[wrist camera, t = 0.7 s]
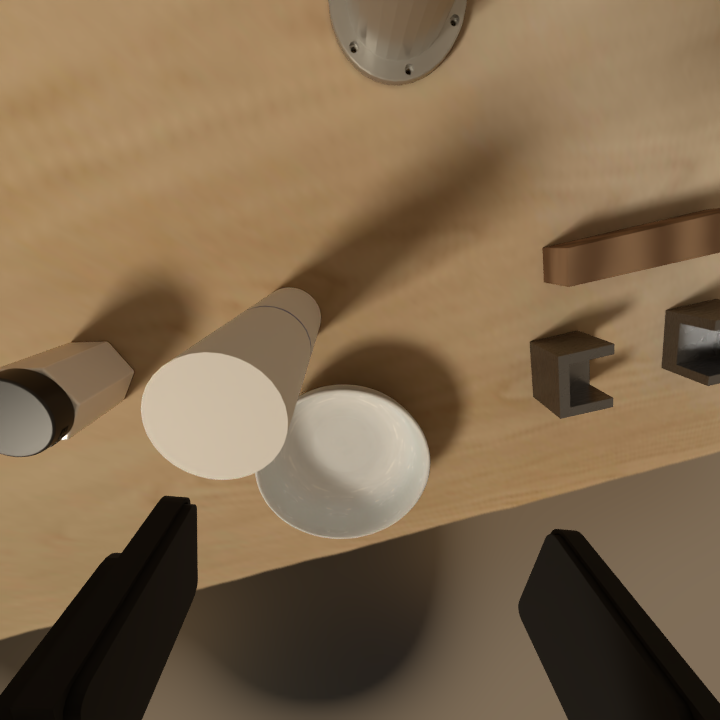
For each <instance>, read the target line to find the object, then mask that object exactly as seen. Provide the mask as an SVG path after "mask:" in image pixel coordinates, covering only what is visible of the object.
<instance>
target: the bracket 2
mask: <svg viewBox="0 0 720 720" xmlns="http://www.w3.org/2000/svg"><path fill="white" fill-rule="evenodd" d="M662 368H663V369H666V370H668V371H671V372H673V373H676V374H678V375H681V376H684V377H686V378H689V379H691V380H694V381H696V382H699V383H702V384H704V385H707V386H710V385H714V384H719V383H720V299H714V300H709V301H705V302H701V303H696V304H692V305H688V306H683V307H679V308H675V309H670V310H666V316H665V329H664V343H663V357H662Z"/></svg>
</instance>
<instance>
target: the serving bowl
mask: <svg viewBox="0 0 720 720" xmlns="http://www.w3.org/2000/svg"><path fill="white" fill-rule="evenodd" d="M429 472H430V452H429V447H428V443H427V440H426V438H425V435H424V433H423V431H422V429H421V428H420V426H419V424H418V423H417V422H416V420H415V419H414V418H413V417H412V416H411V414H410V413H409V412H408V411H407V410H406V409H405V408H404V407H403V406H402V405H400V404H399V403H398V402H397V401H395V400H394V399H392V398H391V397H389V396H387V395H385V394H384V393H381V392H379V391H377V390H374V389H371V388H367V387H363V386H358V385H349V384H339V385H330V386H324V387H320V388H317V389H314V390H311V391H308V392H306V393H304V394H302V395H300V396H299V397H298V400H297V403H296V407H295V410H294V413H293V416H292V420H291V423H290V426H289V429H288V433H287V436H286V439H285V443H284V445H283V446H282V448H281V450H280V452H279V454H278V455H277V456H276V457H275V458H274V460H273V461H272V462H270V463H269V464H268V465H267V466H265V467H264V468H263V469H261V470H259V471H257V472H255V476H256V481H257V484H258V487H259V490H260V492H261V495H262V496H263V498H264V500H265V501H266V503H267V504H268V506H269V507H270V508H271V510H272V511H273V512H274V513H275V514H276V515H277V516H278V517H280V518H281V519H282V520H283V521H285V522H286V523H287V524H289V525H291V526H292V527H294V528H296V529H298V530H301V531H303V532H305V533H308V534H311V535H315V536H319V537H324V538H333V539H349V538H357V537H362V536H366V535H370V534H373V533H376V532H378V531H381V530H383V529H385V528H387V527H389V526H391V525H392V524H394V523H396V522H397V521H398V520H400V519H401V518H402V517H403V516H405V515H406V514H407V513H408V512H409V511H410V510H411V509H412V508H413V506H414V505H415V504H416V503H417V501H418V500H419V498H420V497H421V495H422V493H423V491H424V489H425V487H426V484H427V481H428V477H429Z"/></svg>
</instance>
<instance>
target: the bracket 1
mask: <svg viewBox="0 0 720 720" xmlns="http://www.w3.org/2000/svg"><path fill="white" fill-rule="evenodd" d="M530 353H531V368H532V383H533V397H534V398H535V399H537V400H538V401H539V402H540V403H542V404H543V405H544V406H545V407H547V408H548V409H549V410H550V411H552V412H553V413H554V414H555V415H556V416H558V417H559V418H560V419H561V418H566V417H570V416H575V415H579V414H584V413H588V412H593V411H597V410H602V409H606V408H611V407H613V398H612V397H611V396H609V395H607V394H605V393H604V392H602V391H600V390H598V389H597V388H595V387H593V386H591V385H590V384H589V360H590V359H595V358H599V357H604V356H608V355H612V354H614V344H613V343H610V342H608V341H605V340H602V339H600V338H597V337H594V336H591V335H589V334H586V333H583V332H581V331H575V332H571V333H566V334H562V335H558V336H553V337H549V338H545V339H540V340H536V341H532V342H530Z"/></svg>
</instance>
